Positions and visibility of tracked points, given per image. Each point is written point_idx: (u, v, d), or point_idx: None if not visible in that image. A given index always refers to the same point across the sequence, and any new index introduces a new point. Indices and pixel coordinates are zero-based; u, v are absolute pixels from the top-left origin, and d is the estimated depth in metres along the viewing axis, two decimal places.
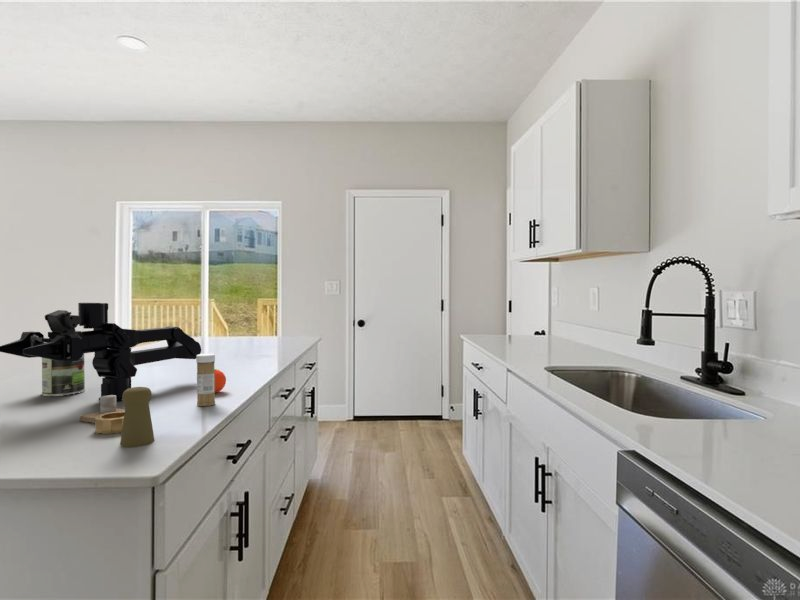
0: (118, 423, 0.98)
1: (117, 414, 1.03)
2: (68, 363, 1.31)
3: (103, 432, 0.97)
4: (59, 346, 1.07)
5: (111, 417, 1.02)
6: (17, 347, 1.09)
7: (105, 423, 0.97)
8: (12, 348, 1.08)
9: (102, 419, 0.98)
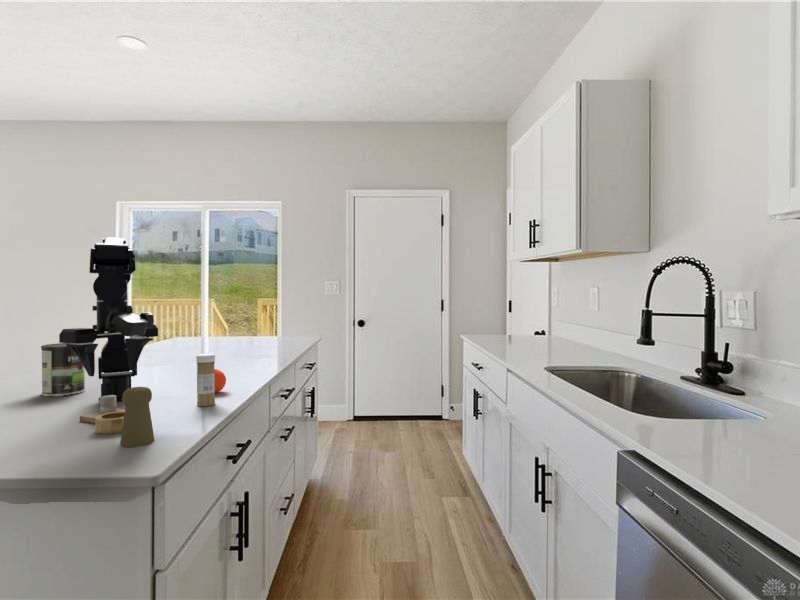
0: (118, 423, 0.98)
1: (117, 414, 1.03)
2: (68, 363, 1.31)
3: (103, 432, 0.97)
4: None
5: (111, 417, 1.02)
6: None
7: (105, 423, 0.97)
8: None
9: (102, 419, 0.98)
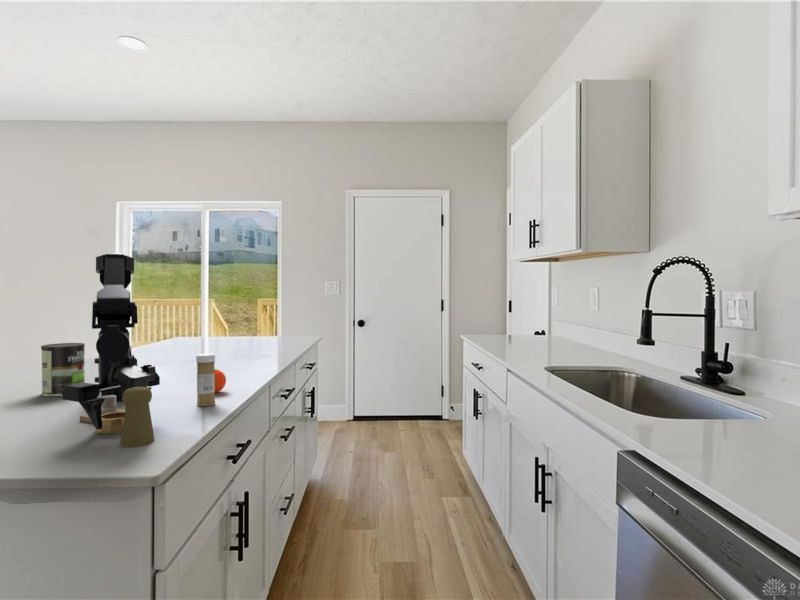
0: (118, 423, 0.98)
1: (117, 414, 1.03)
2: (68, 363, 1.31)
3: (103, 432, 0.97)
4: None
5: (111, 417, 1.02)
6: None
7: (105, 423, 0.97)
8: None
9: (102, 419, 0.98)
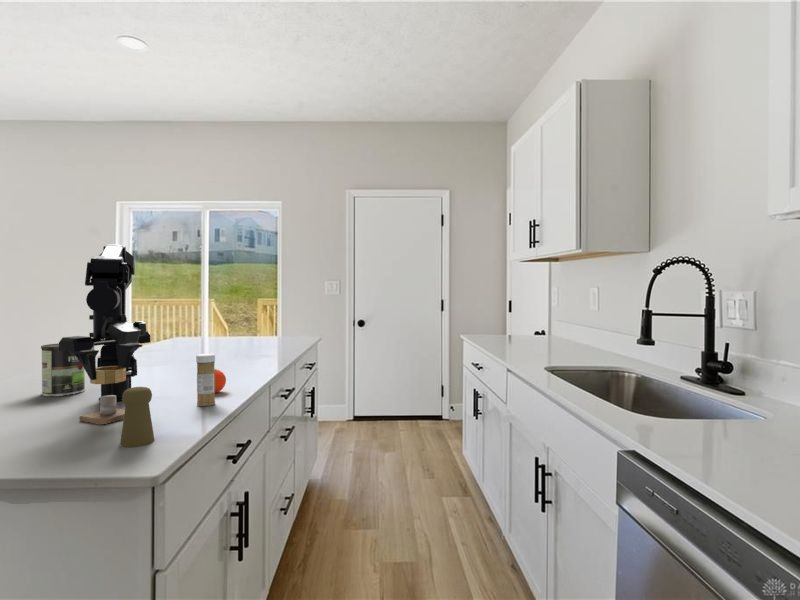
0: (111, 374, 1.06)
1: (110, 368, 1.11)
2: (68, 363, 1.31)
3: (97, 382, 1.05)
4: None
5: None
6: None
7: (99, 374, 1.05)
8: None
9: (96, 370, 1.05)
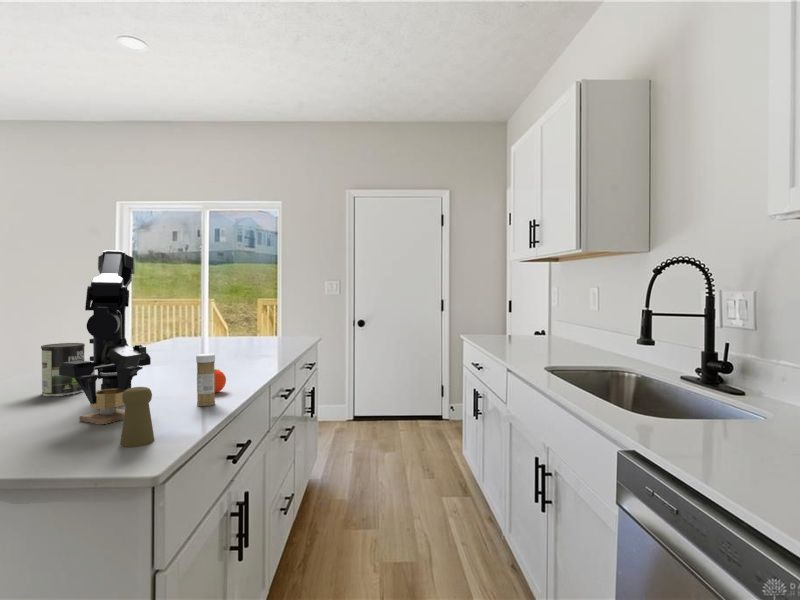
0: (111, 398, 1.06)
1: (111, 391, 1.11)
2: None
3: (97, 406, 1.05)
4: None
5: (105, 394, 1.10)
6: None
7: (99, 398, 1.05)
8: None
9: (96, 394, 1.06)
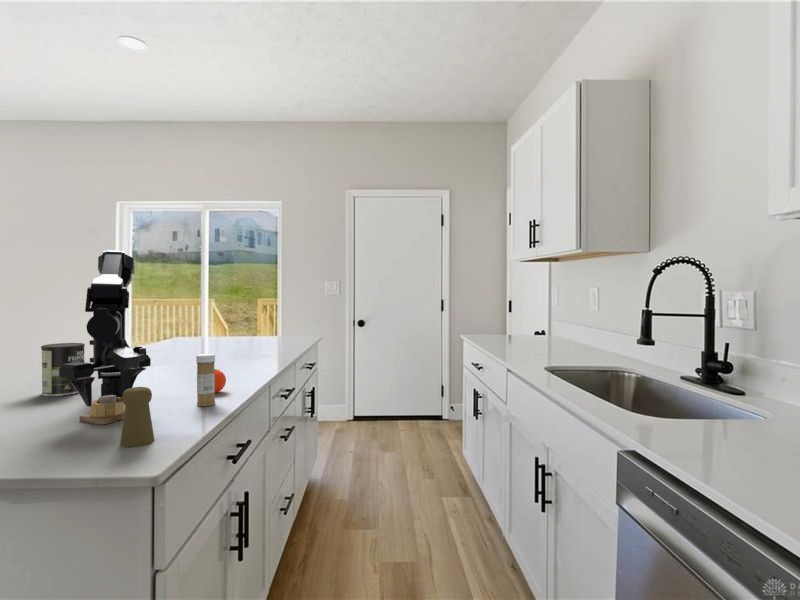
0: (111, 407, 1.06)
1: None
2: None
3: (97, 416, 1.05)
4: None
5: None
6: None
7: (99, 408, 1.05)
8: None
9: (96, 404, 1.06)
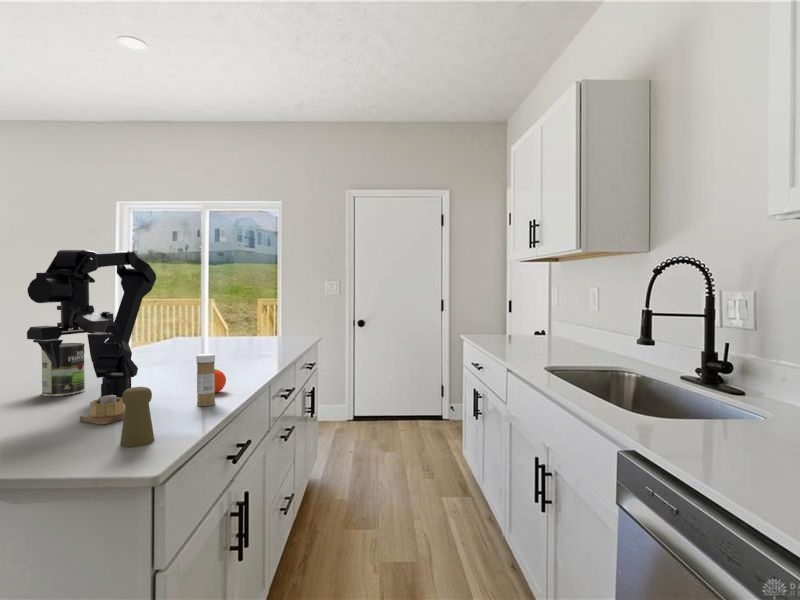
0: (111, 407, 1.06)
1: None
2: (68, 363, 1.31)
3: (97, 416, 1.05)
4: None
5: None
6: None
7: (99, 408, 1.05)
8: None
9: (96, 404, 1.06)
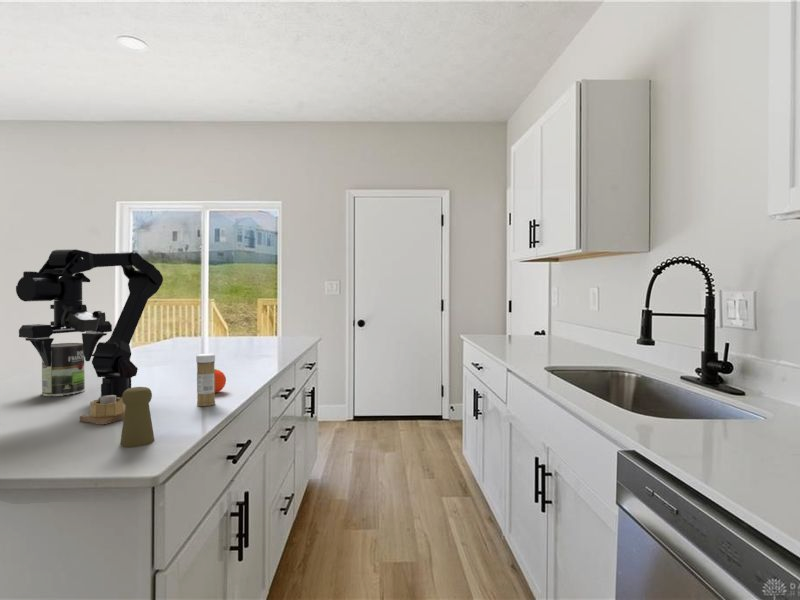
0: (111, 407, 1.06)
1: None
2: (68, 363, 1.31)
3: (97, 416, 1.05)
4: None
5: None
6: None
7: (99, 408, 1.05)
8: None
9: (96, 404, 1.06)
